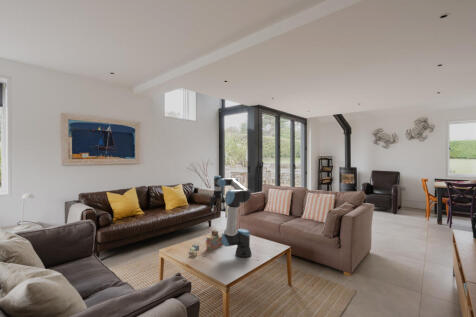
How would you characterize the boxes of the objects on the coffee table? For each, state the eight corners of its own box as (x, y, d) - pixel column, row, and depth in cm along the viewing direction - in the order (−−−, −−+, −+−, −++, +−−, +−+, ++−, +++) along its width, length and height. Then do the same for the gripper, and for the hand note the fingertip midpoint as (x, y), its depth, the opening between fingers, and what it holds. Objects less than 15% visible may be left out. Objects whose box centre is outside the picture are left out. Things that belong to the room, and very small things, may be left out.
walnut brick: (218, 235, 236) (218, 231, 235) (215, 236, 233) (215, 232, 233) (214, 233, 240) (214, 229, 240) (211, 234, 237) (211, 230, 237)
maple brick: (197, 255, 216) (197, 251, 216) (195, 257, 213) (195, 252, 213) (191, 254, 218) (191, 250, 218) (189, 256, 215) (189, 251, 215)
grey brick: (199, 249, 230) (199, 245, 230) (196, 250, 227) (196, 246, 227) (194, 248, 234) (194, 244, 233) (192, 249, 231) (192, 245, 231)
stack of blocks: (220, 242, 248) (220, 231, 248) (224, 243, 244) (224, 232, 244) (206, 249, 230) (206, 237, 230) (211, 250, 227) (211, 238, 227)
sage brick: (195, 253, 222) (195, 248, 222) (192, 253, 220) (192, 249, 220) (193, 250, 227) (193, 246, 227) (190, 251, 225) (190, 247, 225)
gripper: (223, 188, 258) (223, 207, 259) (206, 191, 240) (206, 211, 241) (228, 189, 253) (228, 208, 253) (210, 192, 235) (210, 212, 236)
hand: (217, 210), depth 247 cm, fingers open, 13 cm apart
